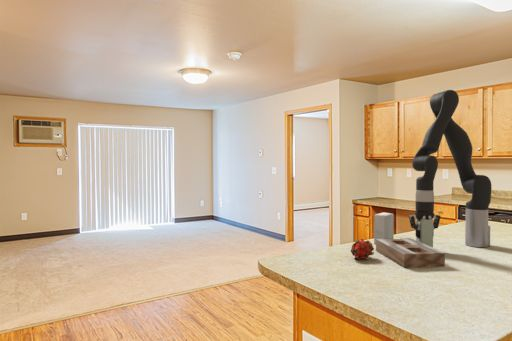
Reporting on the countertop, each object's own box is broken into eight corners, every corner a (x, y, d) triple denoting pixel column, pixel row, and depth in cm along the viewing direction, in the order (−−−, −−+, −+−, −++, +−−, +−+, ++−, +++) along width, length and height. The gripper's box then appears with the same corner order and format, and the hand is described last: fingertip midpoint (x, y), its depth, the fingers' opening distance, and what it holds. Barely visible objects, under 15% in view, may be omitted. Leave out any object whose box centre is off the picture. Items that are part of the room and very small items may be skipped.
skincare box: (383, 241, 181) (383, 212, 180) (394, 244, 176) (394, 213, 176) (373, 244, 176) (373, 213, 175) (384, 246, 171) (384, 215, 170)
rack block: (410, 249, 164) (410, 238, 164) (444, 266, 139) (444, 252, 138) (375, 250, 163) (375, 239, 163) (404, 267, 137) (404, 253, 137)
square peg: (426, 248, 167) (426, 217, 166) (432, 251, 162) (433, 219, 161) (416, 248, 166) (416, 218, 166) (422, 251, 161) (422, 219, 161)
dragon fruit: (372, 259, 154) (355, 269, 147) (358, 245, 159) (340, 254, 152) (382, 246, 149) (365, 255, 142) (366, 232, 154) (349, 240, 147)
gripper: (435, 199, 168) (435, 235, 168) (405, 199, 166) (405, 236, 167) (445, 200, 160) (444, 239, 161) (413, 201, 159) (413, 240, 159)
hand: (424, 237), depth 164 cm, fingers closed on square peg, 5 cm apart
